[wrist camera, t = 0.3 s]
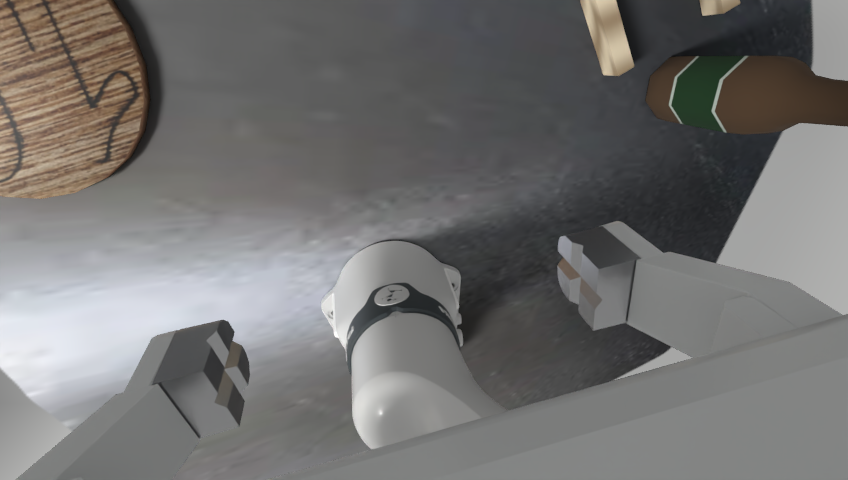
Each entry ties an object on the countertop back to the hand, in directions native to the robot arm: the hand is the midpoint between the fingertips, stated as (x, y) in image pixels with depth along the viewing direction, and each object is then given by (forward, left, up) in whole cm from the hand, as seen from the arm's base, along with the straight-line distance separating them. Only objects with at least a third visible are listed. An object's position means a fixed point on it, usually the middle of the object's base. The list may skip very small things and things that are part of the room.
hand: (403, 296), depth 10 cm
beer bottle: (-4, -38, -40) cm, 55 cm away
